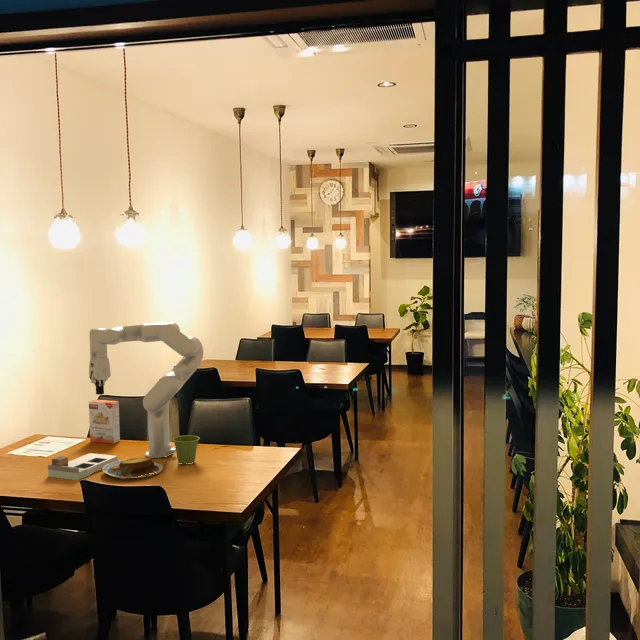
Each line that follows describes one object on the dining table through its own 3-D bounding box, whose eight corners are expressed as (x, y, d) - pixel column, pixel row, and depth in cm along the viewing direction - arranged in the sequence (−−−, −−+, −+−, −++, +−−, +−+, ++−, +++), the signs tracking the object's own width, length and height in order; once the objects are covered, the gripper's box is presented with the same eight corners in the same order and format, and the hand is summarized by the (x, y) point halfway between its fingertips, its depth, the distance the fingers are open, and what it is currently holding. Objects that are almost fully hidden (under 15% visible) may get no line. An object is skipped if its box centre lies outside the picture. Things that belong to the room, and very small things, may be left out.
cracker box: (89, 442, 334) (88, 401, 332) (96, 439, 339) (95, 399, 338) (113, 444, 330) (112, 402, 328) (120, 441, 335) (119, 400, 334)
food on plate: (132, 461, 300) (132, 447, 300) (175, 469, 288) (174, 454, 288) (88, 477, 278) (88, 461, 277) (133, 486, 266) (132, 470, 266)
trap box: (117, 462, 298) (117, 451, 298) (77, 480, 273) (77, 468, 273) (90, 459, 303) (89, 448, 303) (48, 476, 278) (47, 465, 278)
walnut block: (68, 467, 281) (67, 456, 281) (60, 470, 277) (60, 459, 277) (59, 466, 283) (59, 455, 282) (52, 469, 279) (51, 458, 278)
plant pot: (197, 466, 291) (197, 441, 290) (170, 467, 291) (170, 441, 290) (202, 459, 303) (201, 435, 302) (176, 459, 303) (175, 435, 302)
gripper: (94, 357, 297) (96, 397, 299) (115, 353, 311) (116, 391, 313) (81, 356, 300) (82, 396, 301) (102, 352, 314) (103, 391, 315)
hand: (100, 394), depth 307 cm, fingers closed
